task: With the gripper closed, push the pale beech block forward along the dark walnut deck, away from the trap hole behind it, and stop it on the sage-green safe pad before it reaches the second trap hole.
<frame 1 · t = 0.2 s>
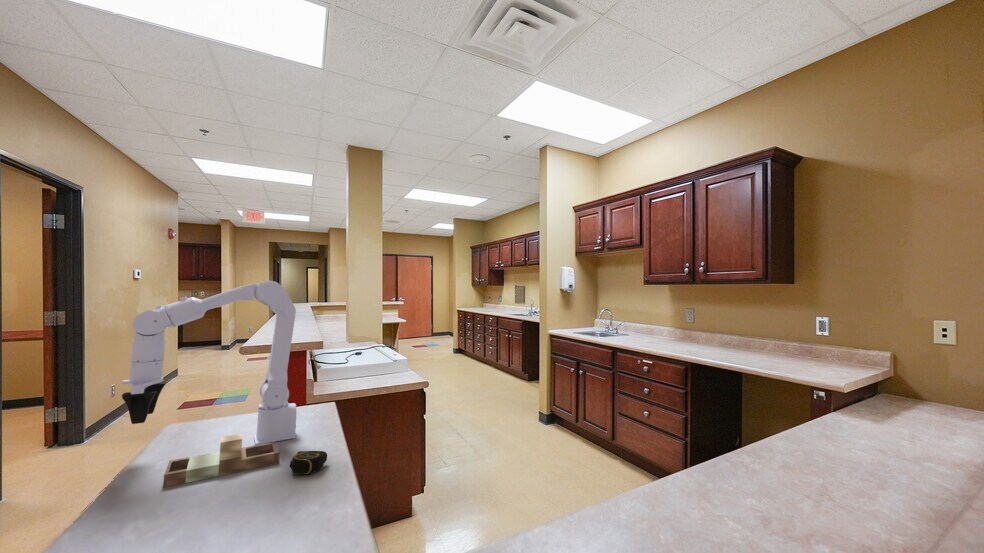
hand: (142, 418, 86), 10 cm above the counter, fingers open, 7 cm apart
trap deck: (225, 467, 83), on the counter
beech block: (230, 455, 84), point 2 cm above the counter, touching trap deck
tape measure: (307, 470, 83), on the counter
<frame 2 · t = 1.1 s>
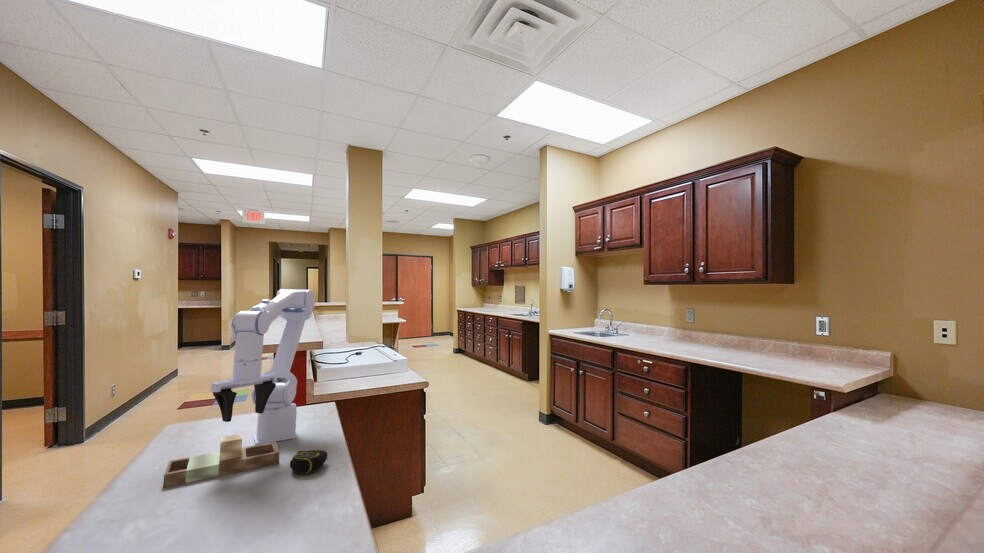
hand: (243, 416, 87), 10 cm above the counter, fingers open, 7 cm apart
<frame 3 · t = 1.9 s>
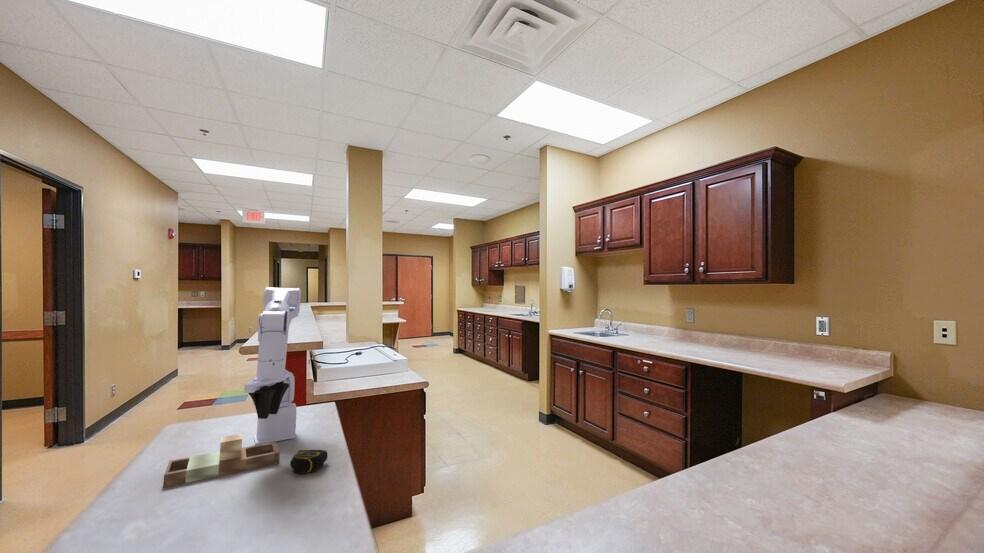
hand: (267, 416, 88), 10 cm above the counter, fingers open, 3 cm apart
nothing on the counter moved.
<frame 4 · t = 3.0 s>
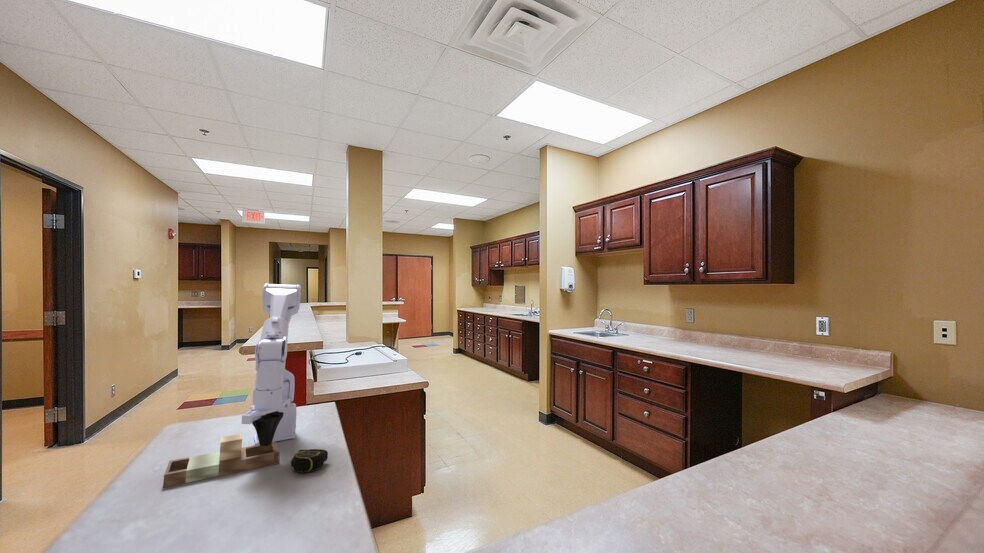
hand: (265, 444, 88), 4 cm above the counter, fingers closed
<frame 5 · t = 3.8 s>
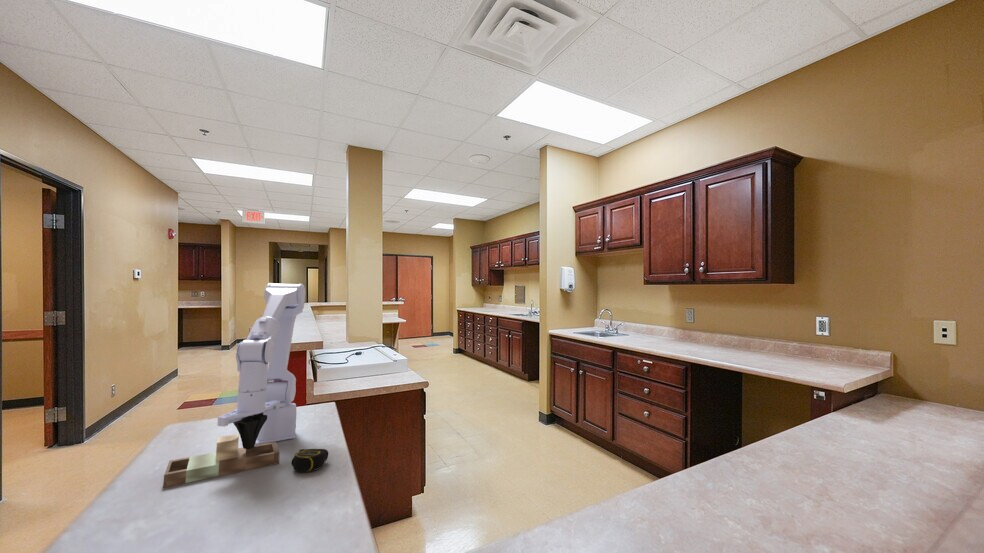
hand: (248, 447, 86), 4 cm above the counter, fingers closed
beech block: (227, 456, 83), point 3 cm above the counter, touching gripper, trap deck
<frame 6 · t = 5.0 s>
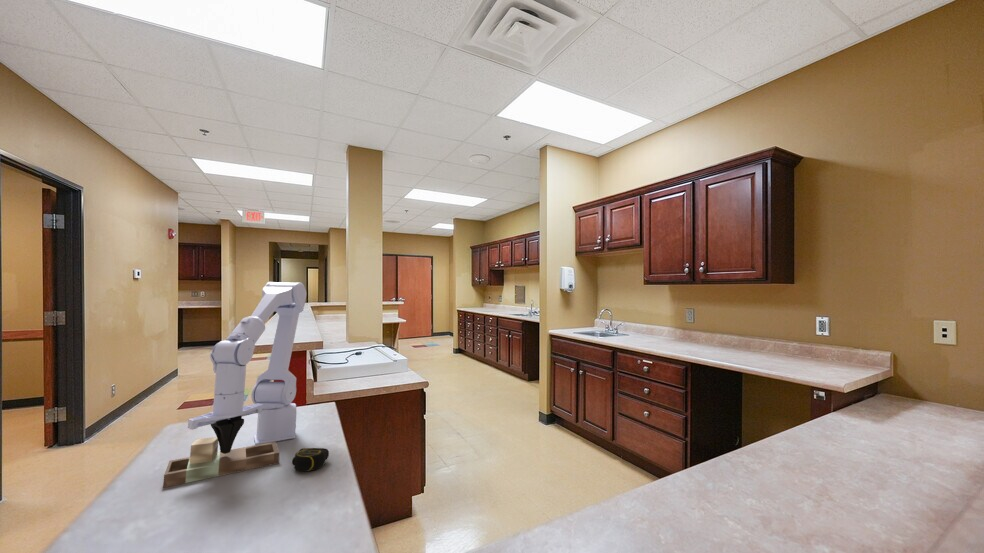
hand: (225, 452, 83), 4 cm above the counter, fingers closed
beech block: (203, 459, 82), point 2 cm above the counter, touching gripper, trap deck
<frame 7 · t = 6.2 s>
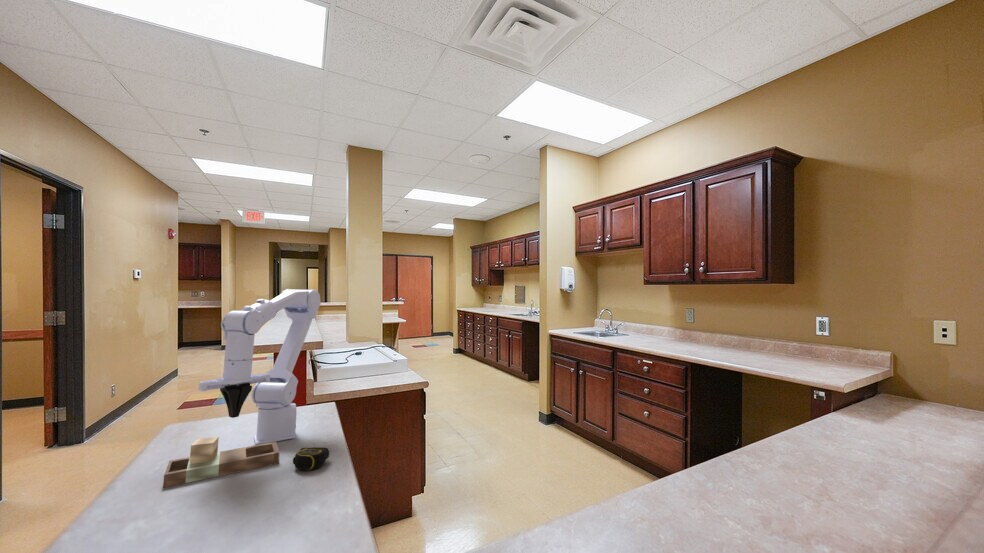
hand: (233, 416, 87), 10 cm above the counter, fingers closed
beech block: (203, 459, 82), point 2 cm above the counter, touching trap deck
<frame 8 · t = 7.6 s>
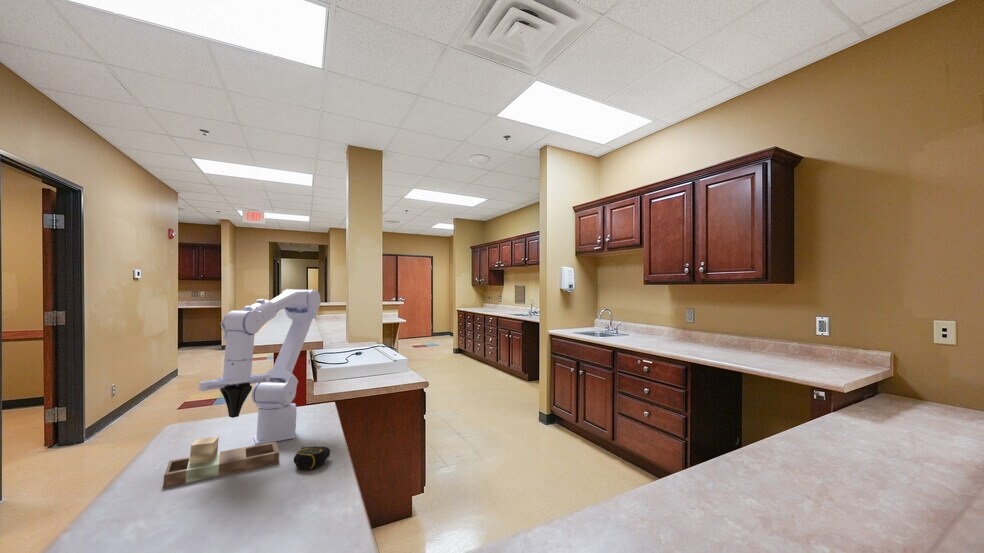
hand: (233, 416, 87), 10 cm above the counter, fingers closed
at the end: beech block 1.2 cm from the target spot, point 2.5 cm above the counter; beech block tilted 0° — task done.
